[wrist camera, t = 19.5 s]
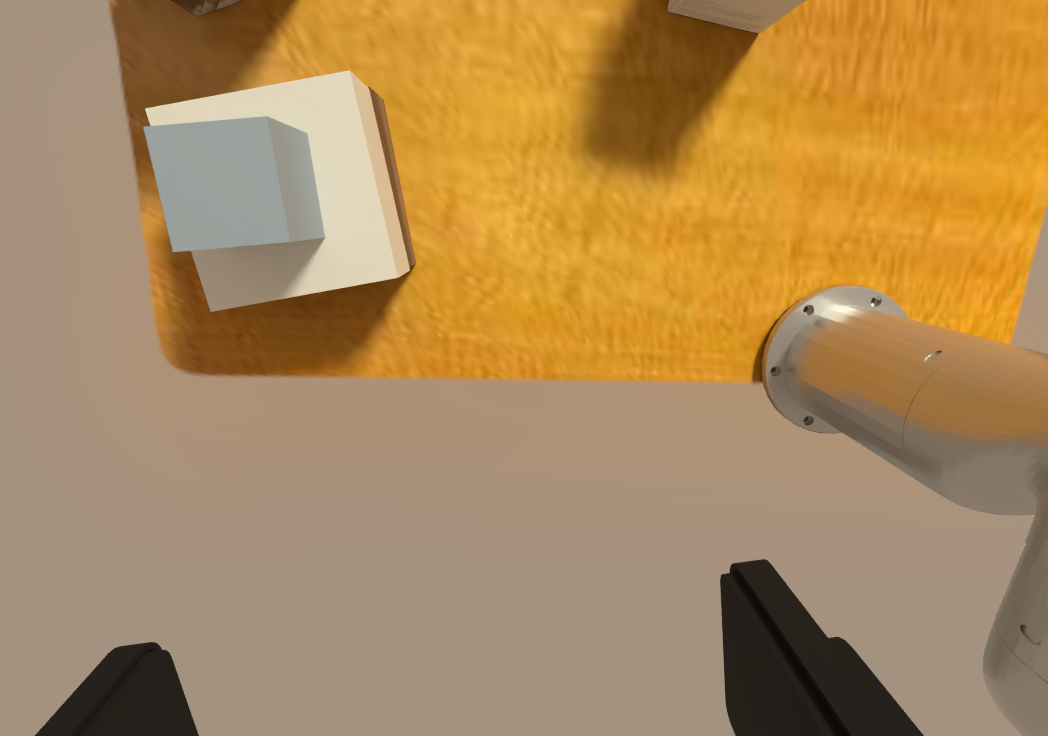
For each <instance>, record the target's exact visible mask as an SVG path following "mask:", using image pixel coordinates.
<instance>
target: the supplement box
mask: <svg viewBox="0 0 1048 736" xmlns="http://www.w3.org/2000/svg"><path fill="white" fill-rule="evenodd" d="M804 1H805V0H669V4H668V8H667V11H668V12H672V13H676V14H680V15H684V16H688V17H692V18H697V19H700V20H704V21H709V22H713V23H716V24H721V25H725V26H729V27H733V28H737V29H742V30H745V31H750V32H754V33H761V32H762V31H764V30H765V29H767V28H768V27H769V26H771V25H772V24H774V23H775V22H776V21H778V20H779V19H781V18H782V17H783V16H785V15H786V14H787V13H789V12H790V11H792V10H793V9H794V8H796V7H797V6H799V5H800V4H801V3H803V2H804Z"/></svg>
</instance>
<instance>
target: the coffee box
mask: <svg viewBox="0 0 1048 736" xmlns="http://www.w3.org/2000/svg"><path fill="white" fill-rule="evenodd" d="M172 1H173V2H175V3H177V4H178V5H180V6H181V7H183V8H184V9H186V10H188V11H189V12H191V13H192V14H194V15H196V16H200V15H203V14H206V13H209V12H212V11H215V10H217V9H220V8H223V7H226V6H228V5H231V4H234V3H237V2H239V1H242V0H172Z"/></svg>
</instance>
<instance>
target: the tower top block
mask: <svg viewBox="0 0 1048 736" xmlns="http://www.w3.org/2000/svg"><path fill="white" fill-rule="evenodd" d="M145 111H146V114H147V117H148V120H149V123H150V126H158V125H169V124H181V123H193V122H205V121H216V120H228V119H240V118H251V117H263V116H268V117H270V118H273V119H275V120H277V121H280V122H282V123H284V124H287V125H289V126H292V127H294V128H296V129H299V130H301V131H303V132H306V133H307V134H308V139H309V145H310V151H311V157H312V163H313V169H314V175H315V181H316V187H317V192H318V198H319V204H320V210H321V216H322V222H323V228H324V234H325V238H318V239H310V240H302V241H294V242H284V243H272V244H261V245H250V246H238V247H227V248H216V249H204V250H193V251H191V253H192V256H193V259H194V262H195V265H196V268H197V271H198V275H199V278H200V281H201V284H202V287H203V290H204V293H205V296H206V299H207V302H208V305H209V309H210V312H213V311H219V310H224V309H230V308H235V307H241V306H246V305H252V304H257V303H263V302H268V301H274V300H279V299H285V298H290V297H296V296H301V295H307V294H312V293H318V292H323V291H328V290H334V289H339V288H345V287H350V286H356V285H361V284H367V283H372V282H378V281H383V280H389V279H394V278H398V277H400V276H402V275H403V274H405V273H407V272H408V271H410V267H409V263H408V259H407V254H406V250H405V245H404V241H403V237H402V232H401V228H400V223H399V219H398V215H397V210H396V206H395V201H394V197H393V192H392V188H391V184H390V179H389V175H388V170H387V166H386V162H385V157H384V153H383V148H382V144H381V140H380V135H379V131H378V126H377V122H376V118H375V113H374V109H373V104H372V100H371V95H370V91H369V88H368V87H367V86H366V85H365V84H363V83H362V82H361V81H360V80H359V79H358V78H357V77H356V76H355V75H354V74H353V73H352V72H351V71H350V70H349V71H344V72H338V73H333V74H328V75H322V76H317V77H312V78H306V79H301V80H295V81H290V82H285V83H279V84H274V85H269V86H263V87H258V88H252V89H247V90H242V91H236V92H231V93H226V94H220V95H215V96H209V97H204V98H199V99H193V100H188V101H183V102H177V103H172V104H166V105H161V106H156V107H150V108H145Z"/></svg>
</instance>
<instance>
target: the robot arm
mask: <svg viewBox="0 0 1048 736" xmlns="http://www.w3.org/2000/svg"><path fill="white" fill-rule="evenodd" d="M871 300H872V301H871ZM805 307H806V309H805V311H803V310H804V308H805ZM772 368H773V370H772V371H771V369H772ZM762 379H763V384H764V388H765V390H766V393H767V396H768V398H769V400H770V401H771V403H772V404H773V405H774V407H775V408H776V410H778V411H779V412H780V413H781V414H782V415H783V416H784V417H785V418H787V419H788V420H790V421H791V422H792V423H794V424H795V425H797V426H799V427H801V428H803V429H806V430H809V431H814V432H818V433H840V432H842V433H844V434H845V435H847V436H848V437H850V438H851V439H853V440H855V441H856V442H858V443H860V444H861V445H862V446H864V447H866V448H867V449H869V450H870V451H872V452H873V453H875V454H877V455H878V456H880V457H881V458H883V459H884V460H886V461H888V462H889V463H890V464H892V465H894V466H895V467H897V468H898V469H900V470H901V471H903V472H905V473H906V474H908V475H909V476H911V477H912V478H914V479H915V480H917V481H919V482H920V483H922V484H923V485H925V486H926V487H928V488H930V489H932V490H933V491H935V492H937V493H938V494H939V495H941V496H943V497H944V498H946V499H948V500H950V501H952V502H954V503H956V504H958V505H961V506H963V507H966V508H969V509H972V510H975V511H979V512H985V513H991V514H997V515H1035V517H1034V520H1033V523H1032V525H1031V528H1030V531H1029V533H1028V536H1027V538H1026V545H1025V547H1024V550H1023V552H1022V555H1021V557H1020V559H1019V562H1018V564H1017V567H1016V569H1015V571H1014V574H1013V576H1012V579H1011V581H1010V583H1009V586H1008V588H1007V591H1006V593H1005V595H1004V598H1003V600H1002V603H1001V605H1000V607H999V610H998V612H997V615H996V619H995V621H994V624H993V627H992V629H991V631H990V634H989V637H988V641H987V644H986V647H985V650H984V656H983V674H984V680H985V683H986V686H987V689H988V691H989V694H990V696H991V697H992V699H993V701H994V702H995V704H996V706H997V707H998V709H999V710H1000V711H1001V713H1002V714H1003V715H1004V716H1005V717H1006V719H1007V720H1008V721H1009V722H1010V723H1011V724H1012V725H1013V726H1014V727H1015V728H1016V729H1017V730H1018V731H1019V732H1020V733H1021V734H1022V735H1023V736H1048V354H1045V353H1041V352H1038V351H1034V350H1030V349H1026V348H1021V347H1018V346H1013V345H1009V344H1005V343H1001V342H997V341H993V340H989V339H985V338H982V337H978V336H974V335H970V334H966V333H962V332H958V331H954V330H950V329H947V328H943V327H939V326H935V325H931V324H927V323H923V322H919V321H915V320H911V319H909V318H908V316H907V315H906V313H905V311H904V310H903V309H902V308H901V307H900V306H899V305H898V304H897V303H896V301H894V300H893V299H891V298H890V297H888V296H887V295H885V294H884V293H882V292H879V291H876V290H874V289H871V288H867V287H862V286H855V285H839V286H831V287H827V288H824V289H821V290H818V291H815V292H813V293H811V294H809V295H807V296H805V297H804V298H802V299H800V300H799V301H798V302H796V303H795V304H794V305H793V306H791V307H790V308H789V309H788V310H787V311H786V312H785V313H784V314H783V315H782V317H781V318H780V319H779V320H778V322H777V323H776V325H775V326H774V328H773V329H772V331H771V333H770V335H769V337H768V340H767V342H766V344H765V348H764V352H763V357H762ZM804 418H805V419H804ZM720 586H721V607H722V628H723V629H722V630H723V652H724V674H725V698H726V707H727V712H728V716H729V720H730V723H731V726H732V728H733V731H734V733H735V735H736V736H924V735H923V734H922V733H921V732H920V730H919V729H918V728H917V727H916V725H915V724H914V723H913V722H912V721H911V719H910V718H909V717H908V716H907V714H906V713H905V712H904V711H903V709H902V708H901V707H900V706H899V705H898V703H897V702H896V701H895V700H894V699H893V697H892V696H891V695H890V693H889V692H888V691H887V690H886V688H885V687H884V686H883V685H882V684H881V683H880V681H879V680H878V679H877V677H876V676H875V675H874V674H873V672H872V671H871V670H870V669H869V668H868V666H867V665H866V664H865V663H864V661H863V660H862V659H861V658H860V657H859V655H858V654H857V653H856V651H855V650H854V649H853V648H852V647H851V646H850V645H849V644H848V643H847V642H846V641H845V640H844V639H842V638H840V637H833V638H828V637H827V636H826V635H825V634H824V632H823V631H822V630H821V628H820V627H819V626H818V625H817V623H816V622H815V621H814V619H813V618H812V617H811V615H810V614H809V613H808V612H807V610H806V609H805V608H804V606H803V605H802V604H801V602H800V601H799V600H798V599H797V597H796V596H795V595H794V593H793V592H792V591H791V590H790V588H789V587H788V586H787V584H786V583H785V582H784V580H783V579H782V578H781V577H780V575H779V574H778V573H777V571H776V570H775V569H774V568H773V566H772V565H771V564H770V563H769V562H768V561H767V560H765V559H763V560H755V561H748V562H741V563H733V564H732V565H731V567H730V573H727V574H722V575H721V579H720ZM35 736H199V735H198V732H197V730H196V727H195V724H194V721H193V718H192V715H191V712H190V709H189V706H188V703H187V701H186V698H185V695H184V692H183V689H182V686H181V683H180V680H179V677H178V674H177V671H176V669H175V666H174V663H173V660H172V657H171V655H170V653H169V652H168V651H166V650H162V649H161V647H160V646H159V645H158V644H157V643H154V642H149V643H141V644H135V645H127V646H120V647H117V648H114V649H113V650H112V651H111V652H109V653H108V654H107V656H106V657H105V658H104V659H103V660H102V661H101V662H100V664H99V665H98V666H97V667H96V668H95V669H94V670H93V671H92V672H91V673H90V675H89V676H88V677H87V678H86V679H85V680H84V681H83V683H82V684H81V685H80V686H79V687H78V688H77V689H76V690H75V691H74V692H73V694H72V695H71V696H70V697H69V698H68V699H67V700H66V701H65V703H64V704H63V705H62V706H61V707H60V708H59V709H58V710H57V712H56V713H55V714H54V715H53V716H52V717H51V718H50V719H49V721H48V722H47V723H46V724H45V725H44V726H43V727H42V728H41V729H40V731H39V732H38V733H37V734H36V735H35Z"/></svg>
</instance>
